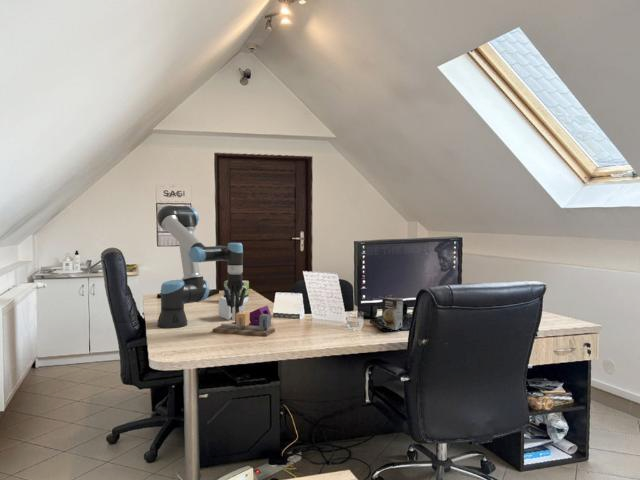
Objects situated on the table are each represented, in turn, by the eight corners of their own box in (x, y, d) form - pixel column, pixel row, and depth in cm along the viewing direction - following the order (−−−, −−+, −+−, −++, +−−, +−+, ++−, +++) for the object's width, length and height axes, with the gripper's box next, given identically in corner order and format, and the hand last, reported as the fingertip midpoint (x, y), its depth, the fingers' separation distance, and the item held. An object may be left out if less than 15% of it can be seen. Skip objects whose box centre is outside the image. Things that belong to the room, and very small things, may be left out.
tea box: (223, 302, 331) (223, 281, 330) (228, 300, 341) (228, 279, 340) (244, 303, 328) (244, 281, 328) (249, 301, 338) (249, 280, 338)
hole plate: (212, 332, 241) (212, 328, 241) (222, 327, 252) (222, 324, 252) (266, 336, 234) (266, 333, 234) (274, 331, 244) (275, 328, 244)
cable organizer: (217, 316, 282) (217, 296, 281) (234, 314, 288) (234, 295, 287) (228, 321, 269) (228, 300, 269) (245, 319, 276) (245, 298, 275)
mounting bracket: (237, 336, 260) (265, 323, 254) (231, 321, 261) (259, 308, 255) (246, 332, 269) (273, 320, 263) (240, 317, 270) (267, 305, 264)
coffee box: (381, 328, 254) (381, 298, 254) (388, 326, 259) (388, 296, 258) (395, 331, 248) (396, 300, 248) (402, 329, 253) (403, 298, 252)
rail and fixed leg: (218, 328, 243) (218, 313, 243) (224, 325, 250) (224, 311, 249) (265, 331, 236) (266, 316, 236) (270, 329, 243) (270, 314, 242)
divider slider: (234, 328, 241) (234, 313, 241) (240, 325, 247) (240, 311, 247) (244, 329, 240) (244, 314, 239) (249, 326, 246) (249, 312, 245)
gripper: (219, 273, 242) (219, 320, 243) (243, 274, 239) (243, 322, 240) (226, 272, 250) (226, 317, 250) (250, 273, 246) (249, 319, 247)
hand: (234, 319), depth 245 cm, fingers closed
